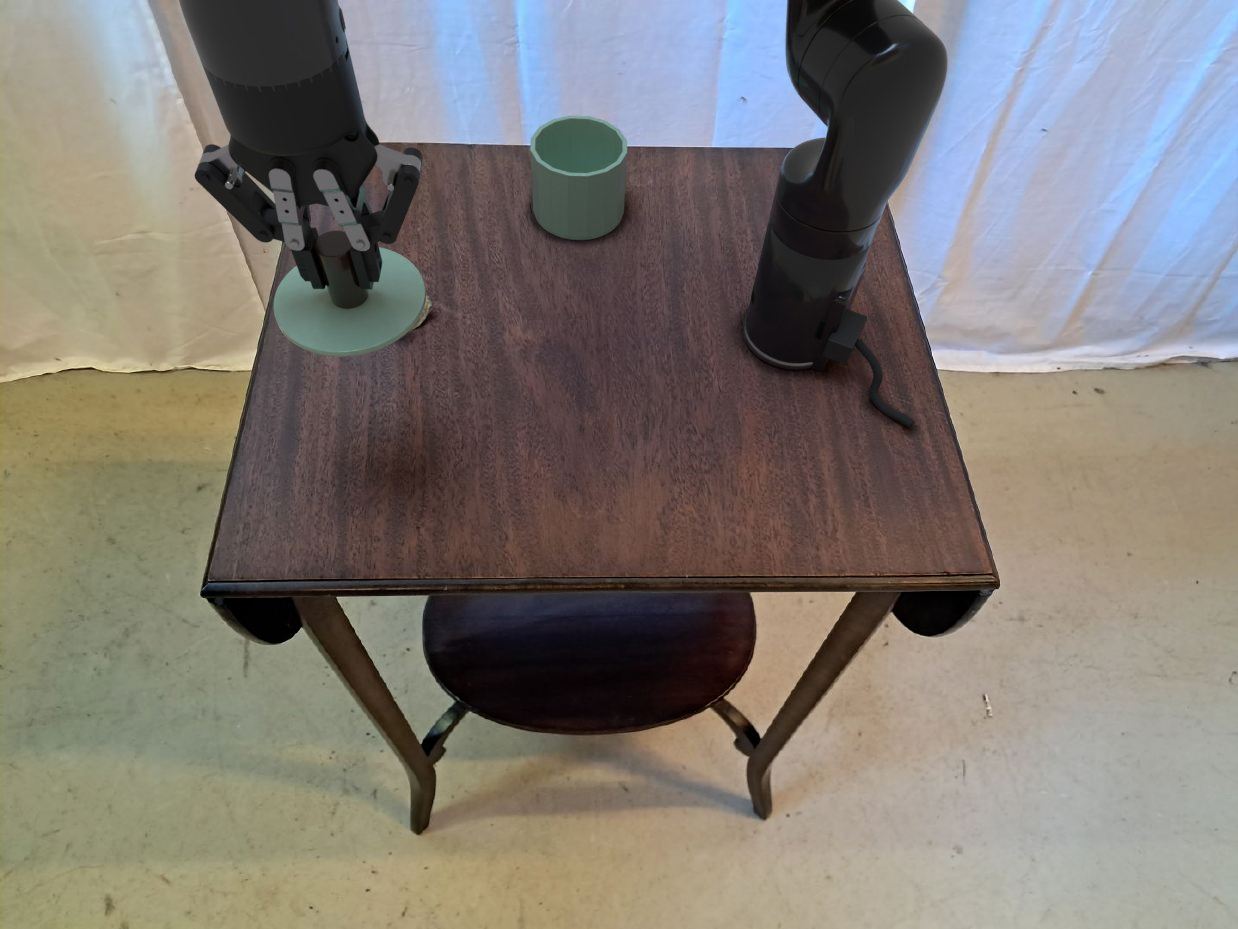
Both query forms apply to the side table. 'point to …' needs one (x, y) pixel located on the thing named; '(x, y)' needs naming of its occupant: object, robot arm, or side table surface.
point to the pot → (578, 176)
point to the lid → (349, 302)
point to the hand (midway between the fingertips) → (345, 279)
